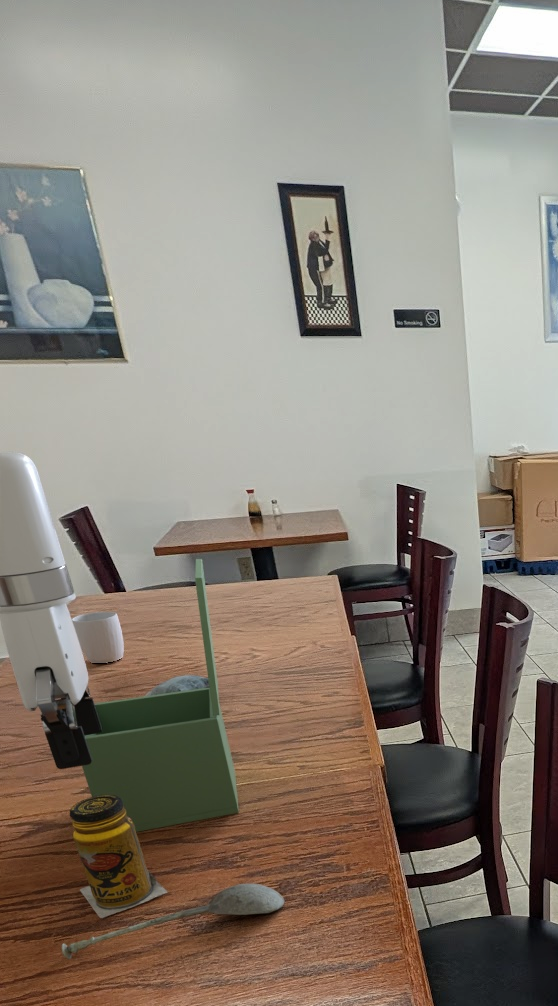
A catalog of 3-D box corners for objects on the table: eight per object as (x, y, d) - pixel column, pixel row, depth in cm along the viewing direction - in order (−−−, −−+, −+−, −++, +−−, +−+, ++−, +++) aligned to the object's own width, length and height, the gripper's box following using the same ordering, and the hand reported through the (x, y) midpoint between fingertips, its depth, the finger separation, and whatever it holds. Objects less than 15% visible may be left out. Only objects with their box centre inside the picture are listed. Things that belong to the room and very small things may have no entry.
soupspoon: (290, 920, 91) (281, 894, 96) (285, 893, 89) (276, 868, 95) (63, 974, 82) (67, 942, 87) (54, 946, 80) (59, 915, 86)
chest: (104, 838, 108) (73, 740, 102) (114, 793, 120) (87, 704, 114) (239, 813, 113) (217, 718, 107) (235, 772, 126) (215, 686, 120)
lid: (194, 577, 100) (202, 577, 100) (195, 558, 112) (202, 558, 112) (213, 715, 107) (219, 715, 107) (212, 683, 119) (217, 683, 120)
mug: (125, 663, 182) (113, 618, 177) (80, 668, 179) (67, 623, 175) (133, 648, 193) (122, 606, 188) (91, 653, 190) (79, 610, 186)
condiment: (101, 920, 91) (69, 824, 85) (79, 890, 96) (48, 799, 91) (168, 894, 95) (142, 801, 90) (144, 867, 101) (117, 779, 95)
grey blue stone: (141, 711, 152) (135, 686, 150) (185, 691, 162) (180, 667, 160) (180, 716, 150) (174, 690, 148) (222, 695, 160) (217, 670, 158)
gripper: (3, 578, 86) (54, 729, 94) (-38, 611, 72) (27, 787, 79) (82, 570, 89) (126, 718, 96) (58, 600, 74) (112, 772, 82)
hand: (81, 749), depth 88 cm, fingers open, 9 cm apart
